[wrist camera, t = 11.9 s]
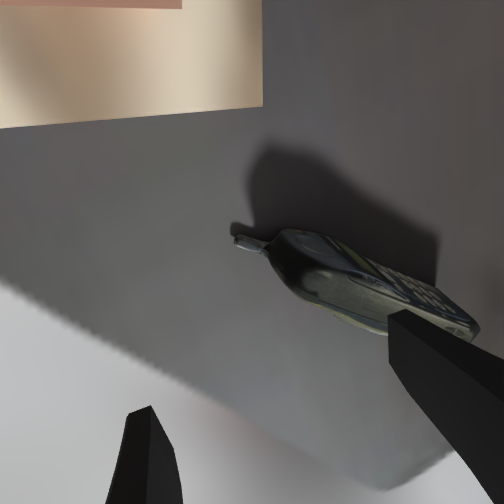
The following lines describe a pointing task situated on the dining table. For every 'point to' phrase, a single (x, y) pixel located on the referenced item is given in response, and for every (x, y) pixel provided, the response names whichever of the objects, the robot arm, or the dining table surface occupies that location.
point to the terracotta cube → (99, 3)
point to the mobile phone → (355, 283)
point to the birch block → (128, 61)
